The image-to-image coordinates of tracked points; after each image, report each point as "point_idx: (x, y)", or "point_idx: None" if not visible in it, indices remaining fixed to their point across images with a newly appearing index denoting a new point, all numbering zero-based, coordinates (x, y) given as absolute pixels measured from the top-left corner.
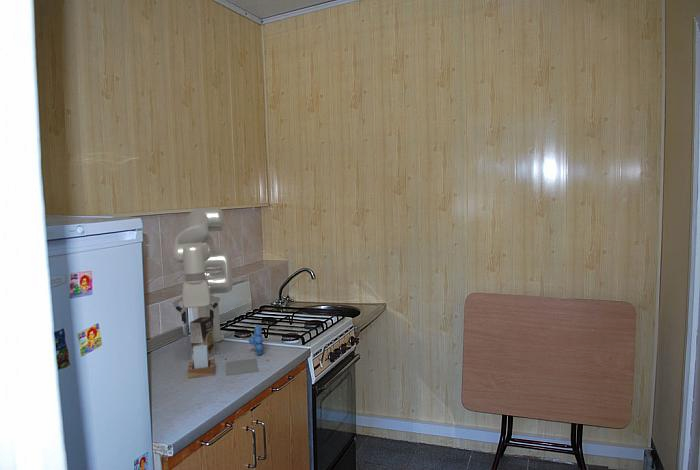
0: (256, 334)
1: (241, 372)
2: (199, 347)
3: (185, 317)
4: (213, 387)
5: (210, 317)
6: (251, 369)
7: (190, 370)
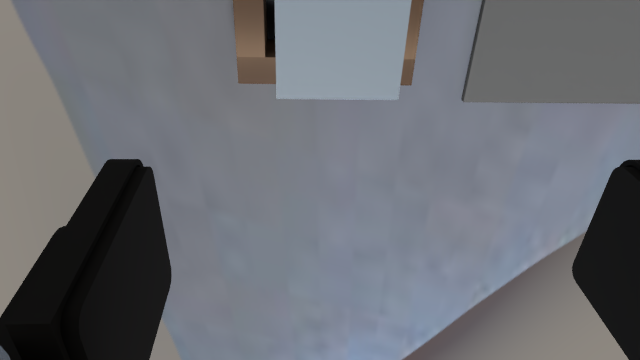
0: None
1: (552, 100)
2: (333, 39)
3: (141, 333)
4: (378, 217)
5: (608, 321)
6: (621, 74)
7: (257, 83)
